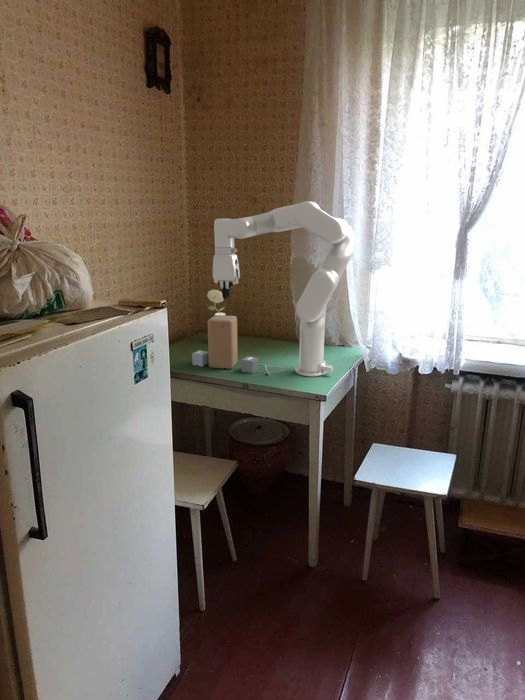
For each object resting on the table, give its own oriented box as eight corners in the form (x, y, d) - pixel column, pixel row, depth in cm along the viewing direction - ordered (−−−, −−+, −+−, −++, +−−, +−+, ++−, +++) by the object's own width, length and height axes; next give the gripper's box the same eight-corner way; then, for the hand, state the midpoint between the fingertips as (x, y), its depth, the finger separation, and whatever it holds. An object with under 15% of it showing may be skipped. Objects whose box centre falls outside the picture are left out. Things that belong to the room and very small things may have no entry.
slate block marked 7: (209, 363, 217) (209, 351, 215) (202, 366, 213) (202, 354, 211) (199, 361, 219) (198, 349, 217) (192, 365, 215) (192, 352, 213)
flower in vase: (237, 341, 249) (236, 289, 242) (223, 347, 240) (222, 293, 233) (215, 337, 256) (214, 286, 249) (201, 342, 246) (199, 290, 239)
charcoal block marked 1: (258, 370, 209) (258, 357, 207) (252, 373, 205) (252, 361, 203) (247, 368, 211) (247, 355, 210) (241, 371, 207) (241, 359, 205)
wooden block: (232, 369, 209) (231, 321, 203) (208, 368, 211) (206, 319, 205) (238, 362, 218) (237, 315, 212) (215, 360, 220) (214, 314, 214)
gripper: (246, 251, 202) (247, 297, 207) (213, 249, 208) (215, 295, 214) (237, 253, 196) (238, 301, 201) (203, 251, 202) (205, 298, 207)
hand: (226, 298), depth 207 cm, fingers closed
